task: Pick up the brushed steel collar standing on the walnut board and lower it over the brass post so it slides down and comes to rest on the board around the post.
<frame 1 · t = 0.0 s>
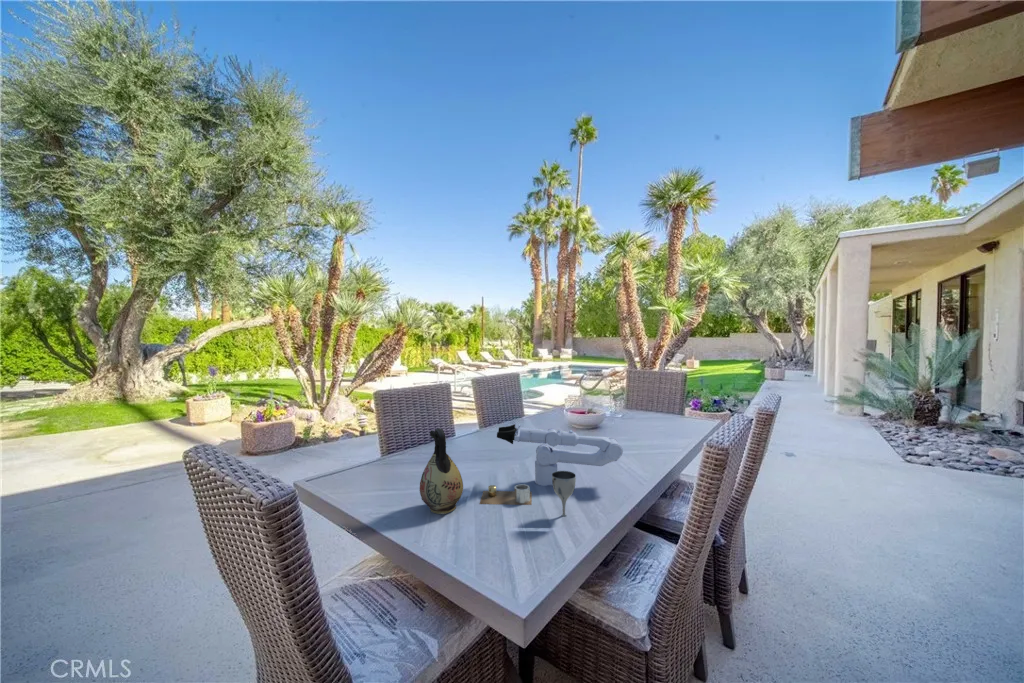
hand: (497, 432, 167), 22 cm above the table, tool horizontal, fingers open, 7 cm apart
ceramic jug: (442, 510, 143), on the table
brass post: (492, 498, 153), resting on walnut board
walnut board: (506, 500, 151), on the table
wine glass: (563, 519, 136), on the table
steel collar: (522, 500, 148), point 1 cm above the table, touching walnut board
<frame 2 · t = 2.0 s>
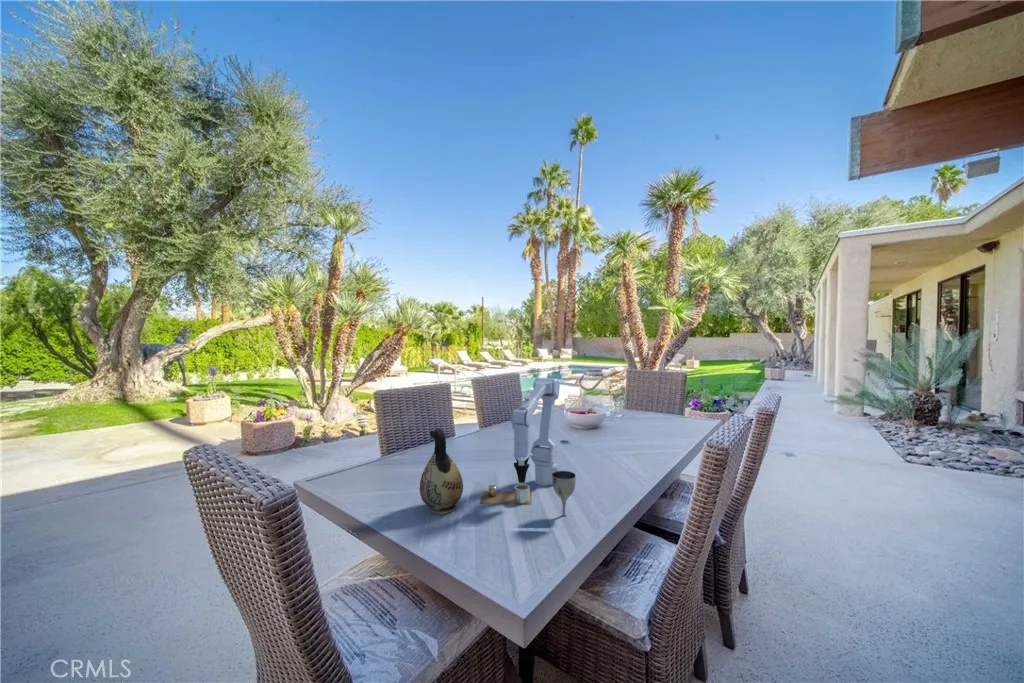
hand: (522, 478, 148), 9 cm above the table, tool pointing down, fingers open, 7 cm apart
nothing on the table moved.
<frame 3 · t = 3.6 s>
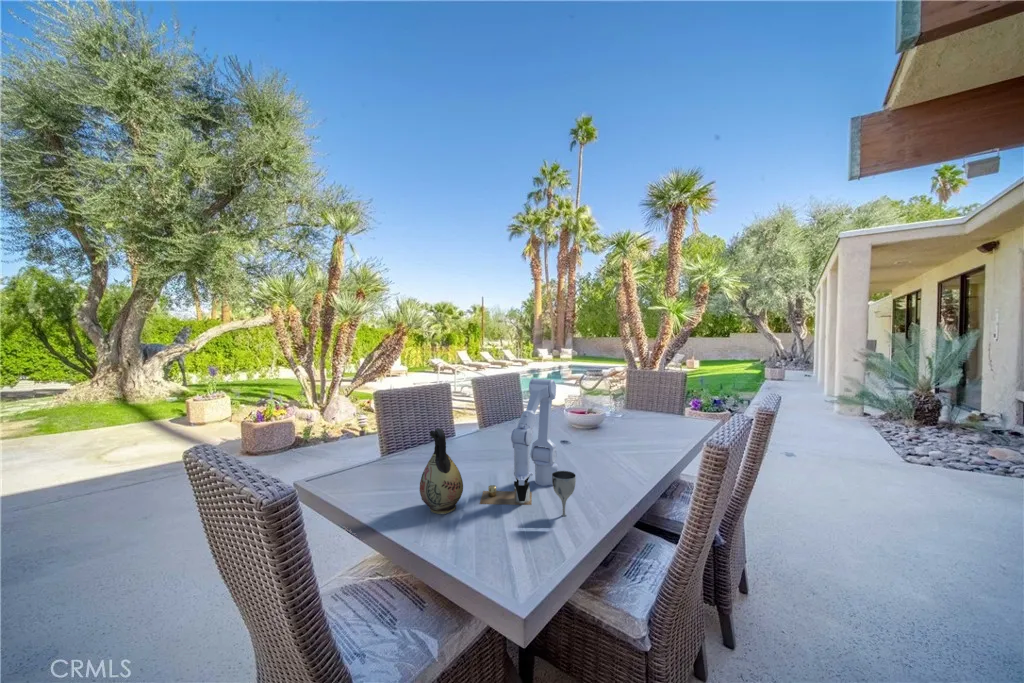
hand: (522, 497, 148), 2 cm above the table, tool pointing down, fingers closed on steel collar, 6 cm apart
steel collar: (522, 500, 148), point 1 cm above the table, touching gripper, walnut board
everything else where it was.
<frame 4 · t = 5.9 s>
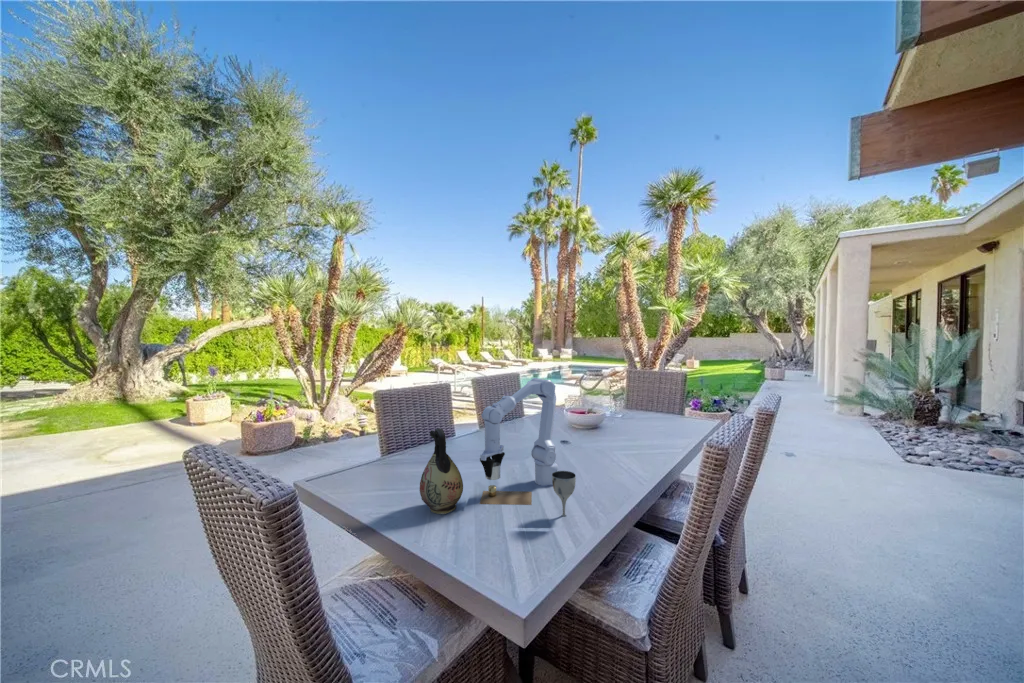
hand: (492, 473, 152), 9 cm above the table, tool pointing down, fingers closed on steel collar, 6 cm apart
steel collar: (492, 477, 152), point 8 cm above the table, touching gripper
everything else where it was.
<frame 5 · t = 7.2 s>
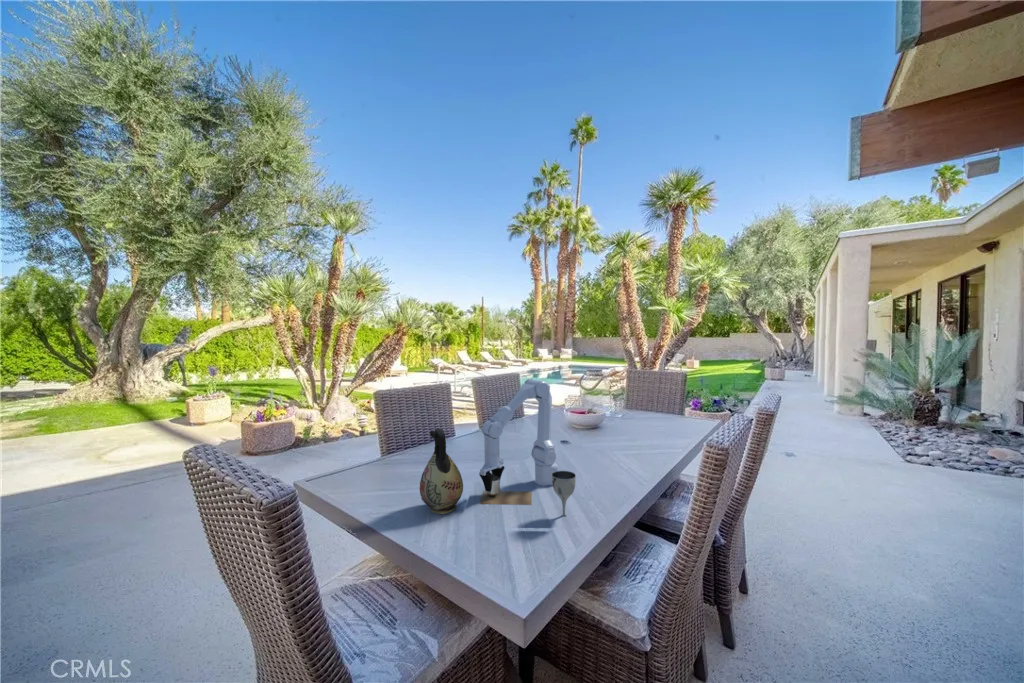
hand: (492, 488, 153), 4 cm above the table, tool pointing down, fingers closed on steel collar, 6 cm apart
steel collar: (492, 491, 153), point 3 cm above the table, touching gripper
everything else where it was.
when the fingers open (4 cm above the table, at t = 8.3 s): steel collar drops 1 cm, resting on walnut board.
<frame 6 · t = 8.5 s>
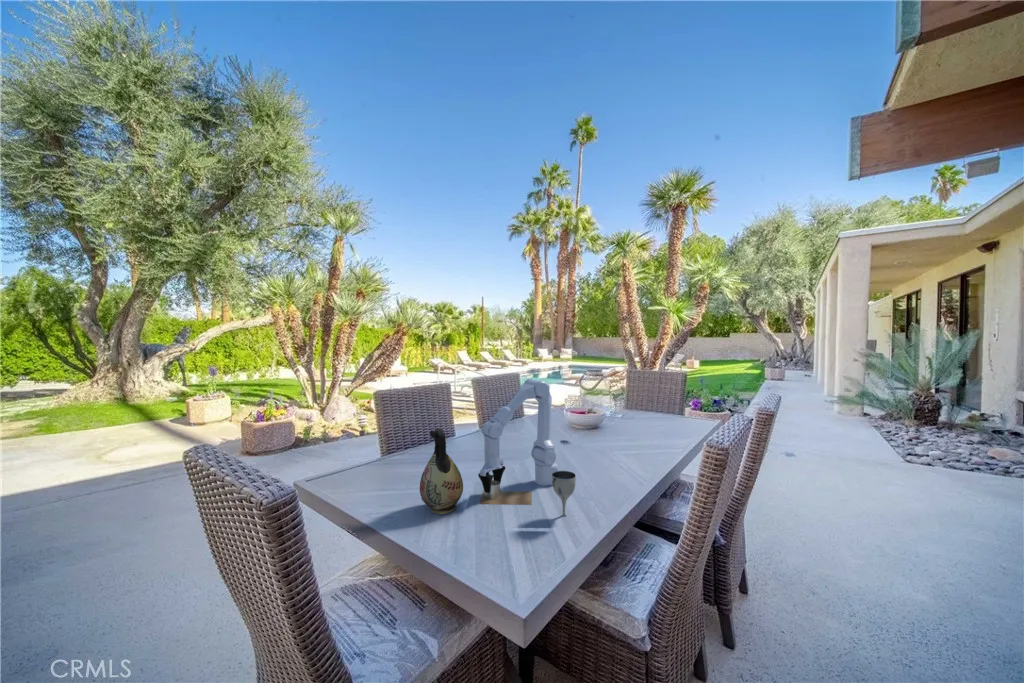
hand: (492, 488, 153), 4 cm above the table, tool pointing down, fingers open, 7 cm apart
steel collar: (492, 495, 153), point 1 cm above the table, touching walnut board
everything else where it was.
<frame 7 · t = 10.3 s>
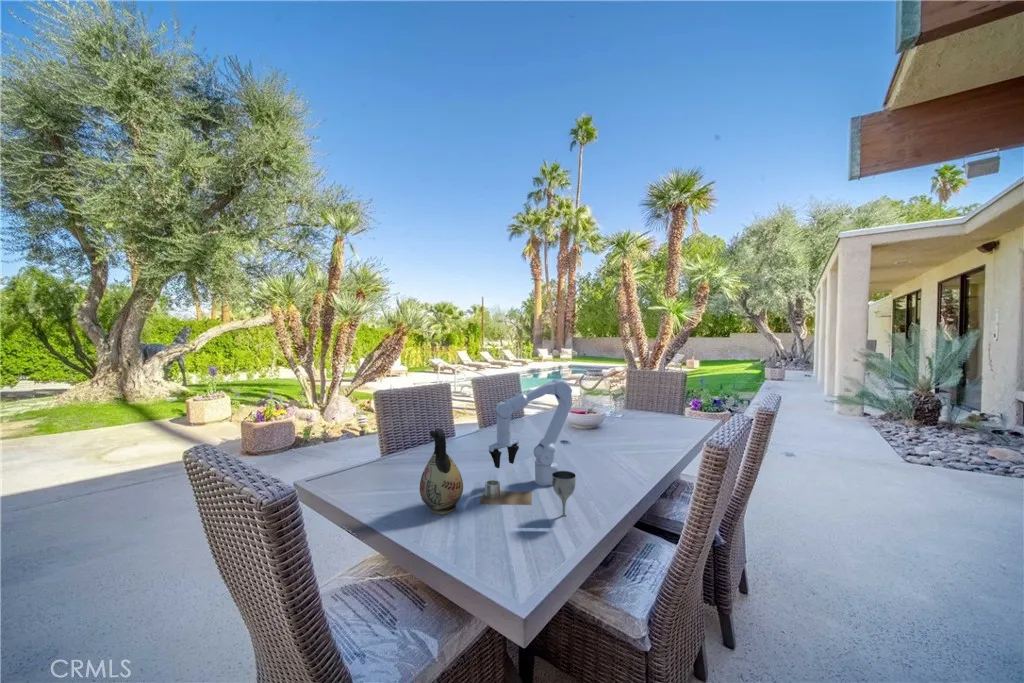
hand: (504, 465, 162), 9 cm above the table, tool pointing down, fingers open, 7 cm apart
nothing on the table moved.
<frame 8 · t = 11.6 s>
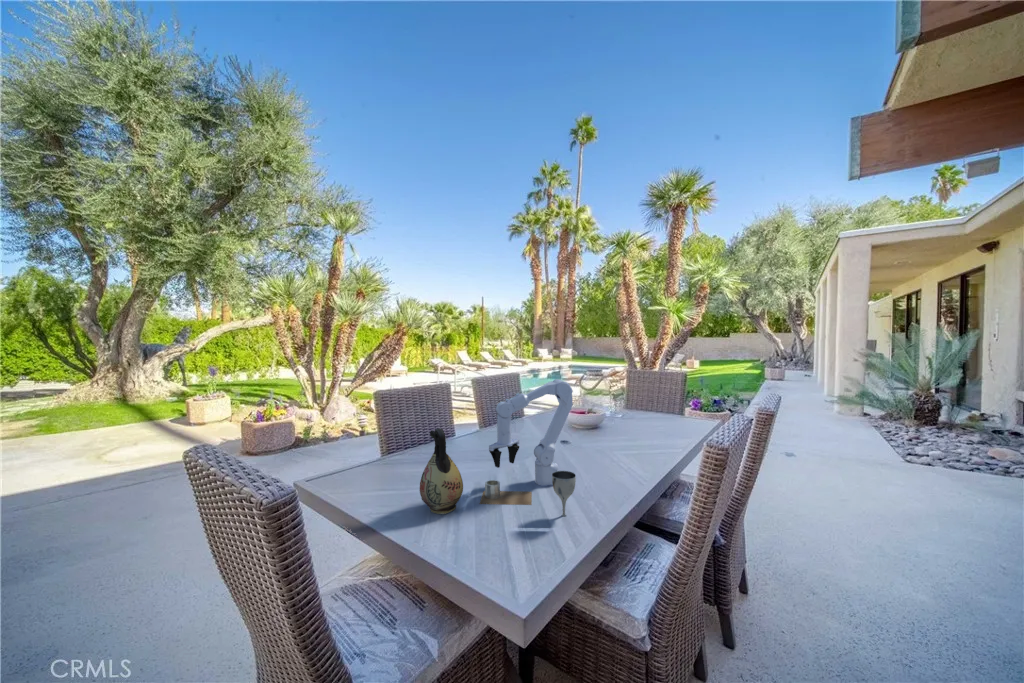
hand: (504, 464, 163), 9 cm above the table, tool pointing down, fingers open, 7 cm apart
nothing on the table moved.
at the end: steel collar 0.1 cm from the brass post (horizontally); steel collar point 1.0 cm above the table; steel collar tilted 0° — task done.
